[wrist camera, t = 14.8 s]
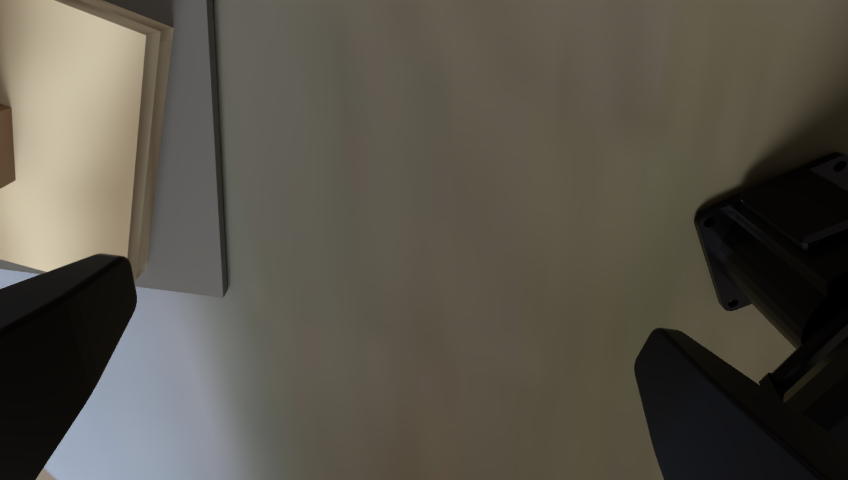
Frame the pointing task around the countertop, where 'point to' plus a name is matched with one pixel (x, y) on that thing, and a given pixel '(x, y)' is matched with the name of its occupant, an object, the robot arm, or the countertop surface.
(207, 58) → the mat
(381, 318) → the countertop surface
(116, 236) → the lid
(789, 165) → the countertop surface
